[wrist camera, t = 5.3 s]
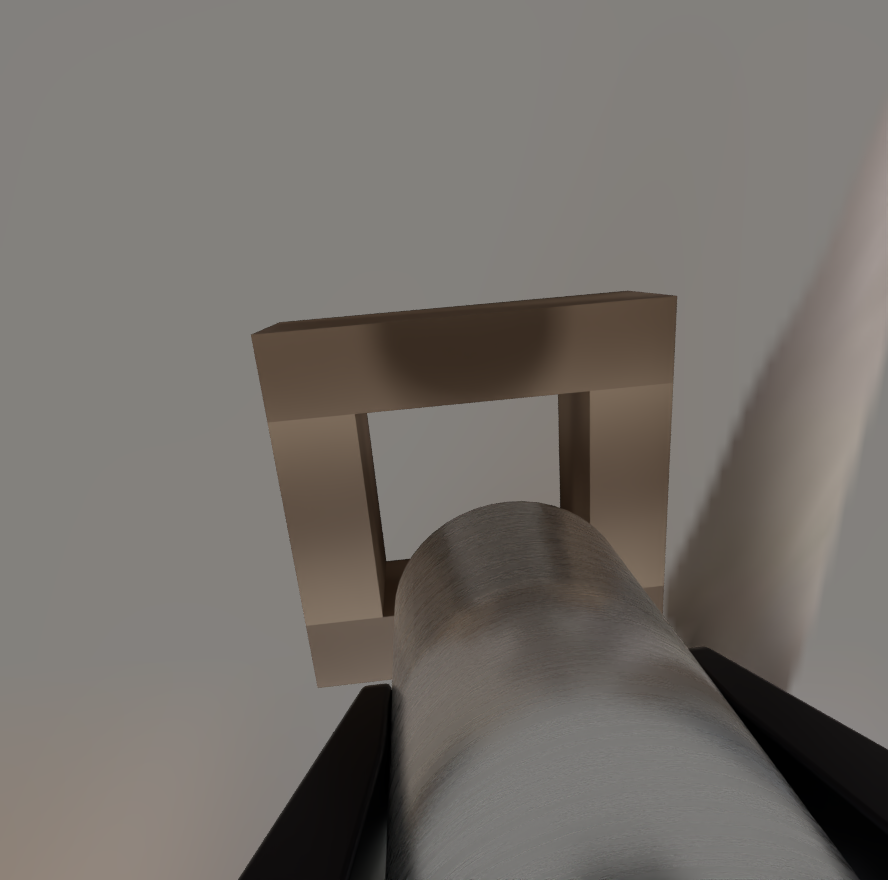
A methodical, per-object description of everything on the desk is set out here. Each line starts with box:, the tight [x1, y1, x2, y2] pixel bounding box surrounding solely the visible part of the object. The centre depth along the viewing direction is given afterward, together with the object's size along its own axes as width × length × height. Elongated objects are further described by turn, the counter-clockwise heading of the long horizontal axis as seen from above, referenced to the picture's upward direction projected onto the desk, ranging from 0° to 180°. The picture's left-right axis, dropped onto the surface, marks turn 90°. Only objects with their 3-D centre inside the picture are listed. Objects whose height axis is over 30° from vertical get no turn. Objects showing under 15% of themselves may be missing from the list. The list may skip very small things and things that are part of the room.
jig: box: [251, 291, 677, 688], centre depth 16 cm, size 10×10×3 cm
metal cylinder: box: [385, 501, 860, 880], centre depth 7 cm, size 4×4×7 cm
